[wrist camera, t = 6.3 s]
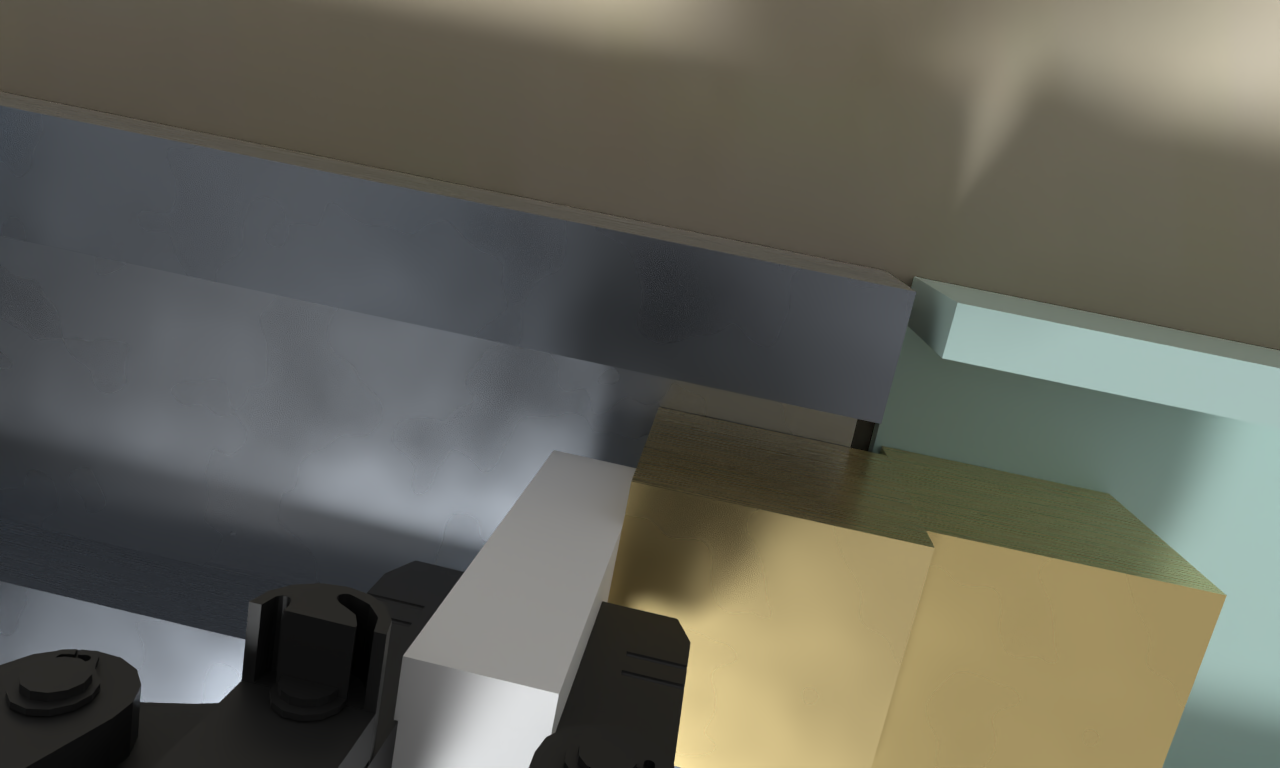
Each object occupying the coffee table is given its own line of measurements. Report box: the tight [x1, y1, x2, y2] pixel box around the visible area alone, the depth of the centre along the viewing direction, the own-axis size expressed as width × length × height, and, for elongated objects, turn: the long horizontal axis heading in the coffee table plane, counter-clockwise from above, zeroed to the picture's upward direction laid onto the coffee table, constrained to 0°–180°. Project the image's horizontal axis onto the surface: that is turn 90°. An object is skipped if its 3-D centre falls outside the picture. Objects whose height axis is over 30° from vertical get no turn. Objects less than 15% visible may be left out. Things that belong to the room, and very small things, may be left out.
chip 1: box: [608, 407, 935, 768], centre depth 14 cm, size 4×4×4 cm
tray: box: [868, 276, 1280, 768], centre depth 15 cm, size 12×10×3 cm
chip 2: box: [871, 446, 1227, 768], centre depth 15 cm, size 4×4×4 cm
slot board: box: [0, 91, 916, 768], centre depth 16 cm, size 18×10×3 cm, turn 79°
